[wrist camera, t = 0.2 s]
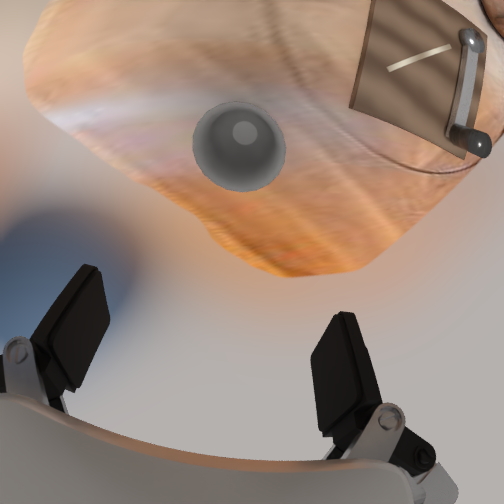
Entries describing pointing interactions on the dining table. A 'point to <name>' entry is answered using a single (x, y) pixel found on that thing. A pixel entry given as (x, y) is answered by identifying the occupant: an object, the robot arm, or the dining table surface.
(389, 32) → the lever board
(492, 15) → the ceramic jug
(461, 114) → the lever
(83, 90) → the dining table surface
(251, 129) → the chalice
